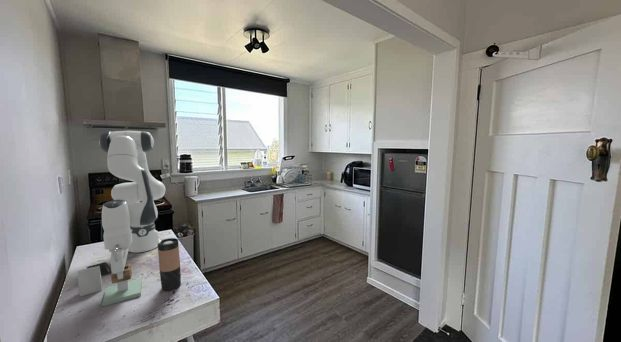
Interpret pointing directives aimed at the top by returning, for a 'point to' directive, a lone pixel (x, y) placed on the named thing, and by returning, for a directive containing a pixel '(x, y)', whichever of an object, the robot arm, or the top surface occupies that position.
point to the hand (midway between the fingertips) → (121, 274)
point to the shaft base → (122, 291)
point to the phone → (102, 268)
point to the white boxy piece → (89, 281)
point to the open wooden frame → (126, 272)
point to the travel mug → (169, 264)
